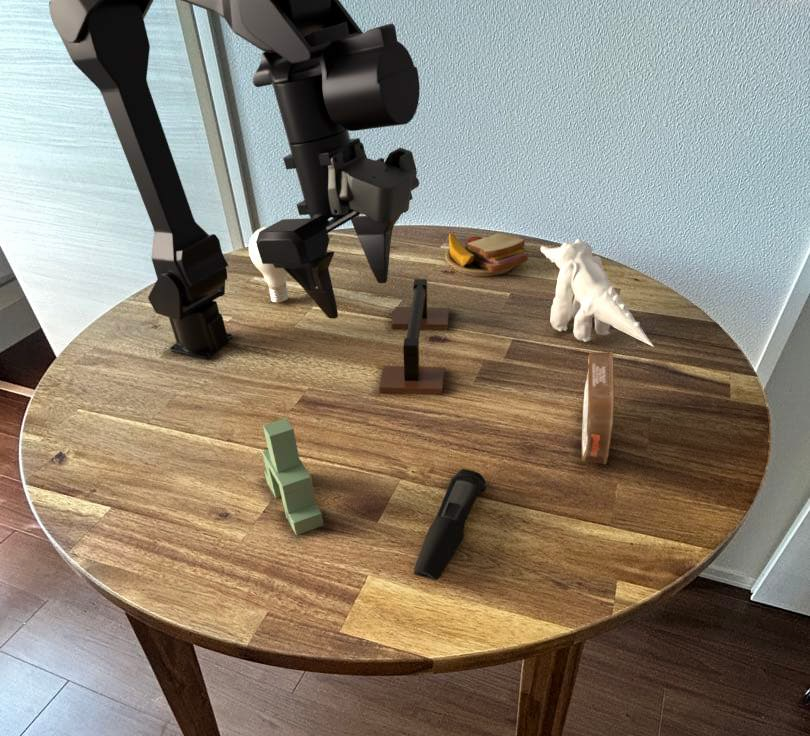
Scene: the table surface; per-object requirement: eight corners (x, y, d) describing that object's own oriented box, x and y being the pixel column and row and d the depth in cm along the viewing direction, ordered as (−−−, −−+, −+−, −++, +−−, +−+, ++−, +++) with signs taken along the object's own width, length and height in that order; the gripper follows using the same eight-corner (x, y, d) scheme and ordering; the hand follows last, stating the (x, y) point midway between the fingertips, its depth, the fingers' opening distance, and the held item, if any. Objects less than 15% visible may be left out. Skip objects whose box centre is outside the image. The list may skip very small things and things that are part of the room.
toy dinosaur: (553, 295, 98) (564, 219, 90) (666, 370, 84) (691, 287, 76) (516, 306, 96) (524, 229, 88) (624, 385, 82) (645, 302, 74)
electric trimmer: (403, 585, 61) (402, 563, 59) (454, 479, 71) (455, 457, 68) (441, 596, 60) (441, 574, 58) (488, 487, 70) (490, 465, 67)
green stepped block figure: (266, 482, 71) (248, 406, 64) (292, 473, 72) (276, 398, 65) (296, 535, 66) (279, 459, 58) (323, 525, 66) (310, 449, 59)
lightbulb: (309, 297, 100) (298, 224, 92) (282, 315, 97) (269, 240, 89) (277, 288, 103) (264, 216, 95) (250, 305, 99) (235, 231, 91)
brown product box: (604, 480, 70) (621, 416, 64) (575, 477, 70) (588, 413, 64) (604, 400, 80) (618, 337, 74) (578, 397, 80) (590, 335, 74)
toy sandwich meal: (499, 241, 113) (502, 212, 109) (537, 272, 104) (541, 242, 100) (433, 254, 110) (433, 225, 106) (466, 287, 101) (467, 257, 98)
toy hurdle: (379, 392, 82) (376, 351, 78) (395, 311, 97) (393, 273, 92) (442, 394, 82) (442, 353, 77) (448, 312, 96) (449, 274, 92)
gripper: (321, 158, 51) (368, 344, 61) (442, 100, 61) (465, 267, 71) (226, 168, 57) (283, 336, 67) (351, 114, 67) (384, 266, 77)
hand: (358, 299), depth 70 cm, fingers open, 9 cm apart
